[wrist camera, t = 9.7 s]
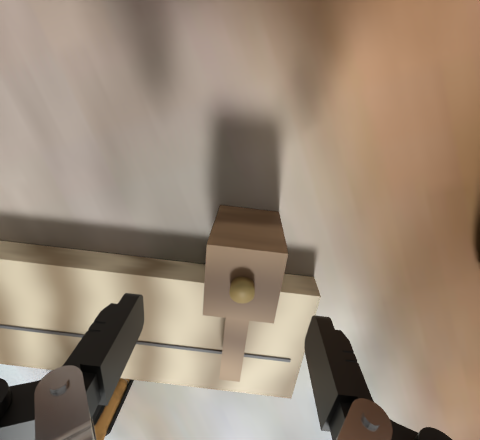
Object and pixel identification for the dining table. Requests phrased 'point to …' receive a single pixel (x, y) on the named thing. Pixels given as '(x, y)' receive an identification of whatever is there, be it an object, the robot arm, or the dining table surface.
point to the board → (155, 318)
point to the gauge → (243, 276)
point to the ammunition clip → (110, 409)
